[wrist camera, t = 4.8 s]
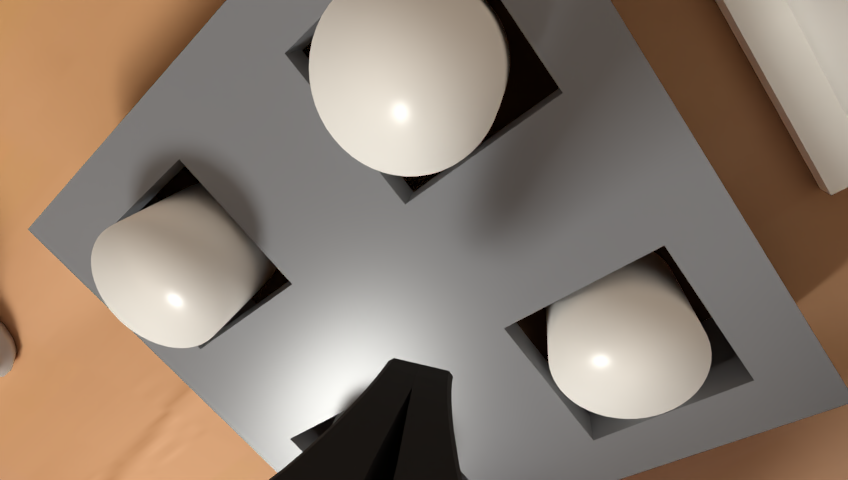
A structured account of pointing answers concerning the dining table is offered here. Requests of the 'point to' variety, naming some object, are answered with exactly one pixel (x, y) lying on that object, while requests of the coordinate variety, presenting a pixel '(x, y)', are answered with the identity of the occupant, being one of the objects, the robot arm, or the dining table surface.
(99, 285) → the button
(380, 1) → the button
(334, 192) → the button board
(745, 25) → the pattern card
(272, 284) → the dining table surface
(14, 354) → the rook chess piece
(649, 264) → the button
